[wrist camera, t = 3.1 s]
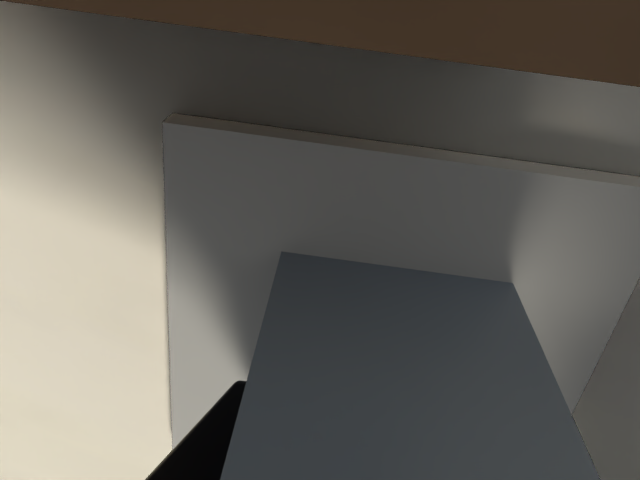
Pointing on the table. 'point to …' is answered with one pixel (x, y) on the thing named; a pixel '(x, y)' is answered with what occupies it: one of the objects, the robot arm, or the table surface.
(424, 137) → the table surface
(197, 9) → the socket block
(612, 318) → the pad
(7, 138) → the table surface
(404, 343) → the plug
